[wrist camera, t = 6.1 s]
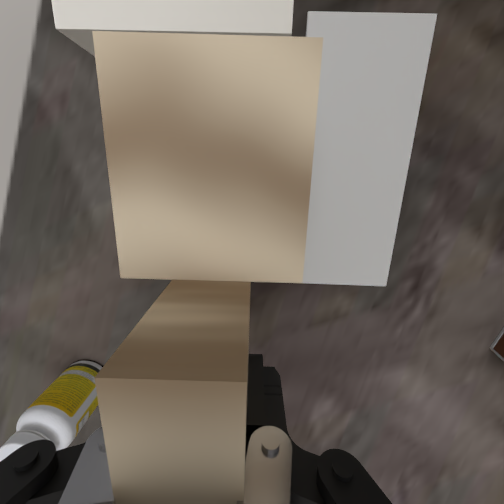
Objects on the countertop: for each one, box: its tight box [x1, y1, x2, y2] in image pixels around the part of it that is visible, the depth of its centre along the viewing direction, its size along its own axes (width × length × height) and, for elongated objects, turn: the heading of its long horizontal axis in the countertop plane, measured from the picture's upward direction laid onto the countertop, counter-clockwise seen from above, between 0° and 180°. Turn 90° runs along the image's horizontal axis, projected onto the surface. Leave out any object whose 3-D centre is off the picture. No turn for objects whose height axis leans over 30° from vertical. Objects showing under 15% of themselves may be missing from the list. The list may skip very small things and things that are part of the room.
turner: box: [92, 31, 323, 504], centre depth 9 cm, size 20×7×6 cm, turn 178°
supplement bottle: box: [0, 361, 103, 462], centre depth 27 cm, size 5×5×10 cm
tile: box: [51, 0, 294, 56], centre depth 18 cm, size 12×2×10 cm, turn 88°
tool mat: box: [303, 11, 437, 286], centre depth 24 cm, size 10×23×1 cm, turn 178°
